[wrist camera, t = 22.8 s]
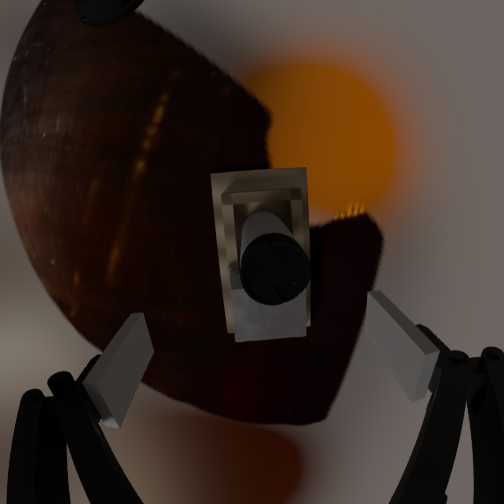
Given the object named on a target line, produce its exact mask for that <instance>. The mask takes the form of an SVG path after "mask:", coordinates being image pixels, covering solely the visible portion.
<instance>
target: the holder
mask: <svg viewBox="0 0 504 504" xmlns="http://www.w3.org/2000/svg"><path fill="white" fill-rule="evenodd" d="M211 183H212V194H213V205H214V215H215V225H216V235H217V245H218V254H219V263H220V272H221V281H222V289H223V298H224V306H225V314H226V321H227V329H228V333H235V332H234V324H233V316H232V307H231V298H230V289H229V280H228V271H227V268H228V267H233V266H240V256H241V239H242V227H243V224H244V222H245V220H246V219H247V217H248V216H249V215H251V214H252V213H254V212H257V211H262V210H265V211H270V212H272V213H274V214H276V215H277V216H278V217H279V218H280V219H281V221H282V222H283V223H284V225H285V226H286V227H287V228H288V230H289V231H290V232H291V234H292V235H293V236H294V238H295V239H296V240H297V241H298V243H299V244H300V245H301V247H302V248H303V250H304V252H305V253H306V254H307V256H308V258H309V260H310V237H309V212H308V190H307V173H306V167H303V168H281V169H263V170H249V171H237V172H225V173H215V174H211ZM306 326H310V281H309V283H308V286H307V287H306ZM297 337H300V336H297ZM238 342H243V341H238Z"/></svg>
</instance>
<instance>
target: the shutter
mask: <svg viewBox="0 0 504 504" xmlns="http://www.w3.org/2000/svg"><path fill="white" fill-rule="evenodd" d="M227 271H228V280H229V289H230V298H231V307H232V316H233V324H234V332H235V341H236V342H238V341H253V340H266V339H277V338H287V337H297V336H306V288H305V289H304V290H303V292H302V293H300V294H299V295H298V296H297V297H296V298H294V299H293V300H291V301H289V302H284V304H280V305H276V306H268V305H264V304H260V303H258V302H256V301H254V300H253V299H252V298H250V297H249V296H248V295H247V294H246V292H245V291H244V289H243V287H242V284H241V280H240V266H233V267H228V268H227Z"/></svg>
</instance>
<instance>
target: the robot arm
mask: <svg viewBox="0 0 504 504" xmlns="http://www.w3.org/2000/svg"><path fill="white" fill-rule="evenodd" d="M143 1H144V0H72V3H73V6H74V9H75V12H76V15H77V17H78V18H79V19H80V20H81V21H82V22H83V23H84V24H86V25H88V26H91V27H101V26H106V25H109V24H112V23H115V22H117V21H119V20H121V19H123V18H124V17H126V16H128V15H129V14H130V13H132V12H133V11H134V10H135V9H137V8H138V7H139V6H140V5H141V4H142V2H143ZM365 333H366V335H367V336H368V338H369V339H370V341H371V342H372V344H373V345H374V347H375V348H376V350H377V351H378V352H379V354H380V355H381V357H382V358H383V360H384V361H385V363H386V364H387V366H388V367H389V369H390V370H391V372H392V373H393V375H394V376H395V378H396V380H397V381H398V383H399V384H400V386H401V387H402V389H403V390H404V392H405V393H406V395H407V397H408V398H409V400H410V401H411V402H414V401H417V400H420V399H423V398H425V396H426V393H427V390H428V389H429V390H430V391H431V393H432V395H431V397H430V400H429V403H428V405H427V408H426V410H427V411H426V415H425V417H424V421H423V424H422V427H421V430H420V432H419V435H418V438H417V441H416V444H415V446H414V449H413V451H412V454H411V456H410V459H409V461H408V464H407V466H406V468H405V471H404V473H403V475H402V477H401V480H400V482H399V484H398V486H397V488H396V490H395V492H394V494H393V496H392V498H391V500H390V502H389V504H446V502H447V495H446V494H445V491H446V488H447V485H448V482H449V478H450V475H451V472H452V468H453V464H454V460H455V457H456V452H457V448H458V444H459V439H460V435H461V430H462V424H463V418H464V412H465V406H466V401H467V408H468V414H469V422H470V430H471V439H472V450H473V469H474V500H473V504H504V353H503V351H502V350H500V349H499V348H496V347H486V348H485V349H484V350H483V351H482V354H481V357H473V358H469V357H468V355H467V354H466V353H464V352H462V351H458V350H453V351H451V350H450V349H449V348H448V347H447V346H446V345H445V344H444V343H443V342H442V341H441V340H440V339H438V338H437V336H436V335H435V334H433V332H432V331H431V330H430V329H429V328H427V327H425V326H423V325H421V324H418V325H414V324H413V323H412V322H411V321H410V320H409V319H408V318H407V317H406V316H405V315H404V314H403V313H402V312H401V311H400V310H399V309H398V308H397V307H396V306H395V305H394V304H393V303H392V302H391V301H390V300H389V299H388V298H387V297H386V296H385V295H384V294H383V293H382V292H381V291H380V290H378V291H371V292H368V298H367V311H366V323H365ZM153 353H154V350H153V346H152V343H151V340H150V336H149V333H148V329H147V326H146V322H145V318H144V314H143V313H132V314H131V315H130V316H129V318H128V319H127V320H126V322H125V323H124V324H123V326H122V327H121V328H120V330H119V331H118V332H117V334H116V335H115V337H114V338H113V339H112V341H111V342H110V344H109V345H108V346H107V348H106V349H105V351H104V352H103V353H102V355H101V354H98V355H96V356H95V357H94V358H92V359H91V360H90V362H89V363H88V364H87V367H85V368H84V370H83V371H82V373H81V374H80V376H79V377H78V378H77V380H76V381H74V378H73V376H72V375H71V373H70V372H67V371H61V372H57V373H55V374H53V375H52V376H51V377H50V378H49V379H48V382H47V384H48V386H49V388H50V390H51V391H52V394H53V395H54V396H49V397H45V396H44V395H43V393H42V391H41V390H39V389H31V390H28V391H26V392H25V393H24V394H23V396H22V398H21V401H20V405H19V410H18V414H17V419H16V424H15V429H14V434H13V440H12V447H11V453H10V461H9V470H8V482H7V504H71V503H70V494H69V484H68V470H67V445H68V448H69V451H70V454H71V457H72V460H73V462H74V465H75V468H76V471H77V473H78V476H79V478H80V481H81V483H82V485H83V488H84V490H85V493H86V495H87V497H88V499H89V501H90V504H144V503H143V502H142V500H141V499H140V498H139V496H138V494H137V493H136V491H135V490H134V488H133V487H132V485H131V483H130V482H129V480H128V478H127V477H126V475H125V473H124V472H123V470H122V468H121V466H120V465H119V463H118V461H117V459H116V457H115V455H114V453H113V452H112V450H111V448H110V446H109V444H108V442H107V440H106V438H105V436H104V434H103V431H102V429H101V427H100V426H99V424H98V423H99V421H100V419H102V420H103V422H104V424H105V425H106V426H107V427H113V428H120V427H121V424H122V422H123V420H124V417H125V415H126V413H127V410H128V408H129V406H130V403H131V401H132V399H133V397H134V394H135V392H136V390H137V388H138V385H139V383H140V381H141V379H142V377H143V374H144V372H145V370H146V368H147V366H148V363H149V361H150V359H151V357H152V355H153Z"/></svg>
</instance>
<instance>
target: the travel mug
mask: <svg viewBox="0 0 504 504" xmlns="http://www.w3.org/2000/svg"><path fill="white" fill-rule="evenodd" d="M310 277H311V264H310V260H309V258H308V256H307V254H306V253H305V252H304V250H303V248H302V247H301V245H300V244H299V243H298V241H297V240H296V239H295V238H294V236H293V235H292V234H291V232H290V231H289V230H288V228H287V227H286V226H285V225H284V223H283V222H282V221H281V219H280V218H279V217H278V216H277V215H276V214H274V213H272V212H270V211H265V210H262V211H257V212H254V213H252V214H251V215H249V216H248V217H247V219H246V220H245V222H244V224H243V227H242V239H241V256H240V280H241V284H242V287H243V289H244V291H245V292H246V294H247V295H248V296H249V297H250V298H252V299H253V300H254V301H256V302H258V303H260V304H264V305H268V306H276V305H280V304H284V302H289V301H291V300H293V299H294V298H296V297H297V296H298V295H299V294H300V293H302V292H303V290H304V289H305V288H306V287H307V286H308V283H309V281H310Z"/></svg>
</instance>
